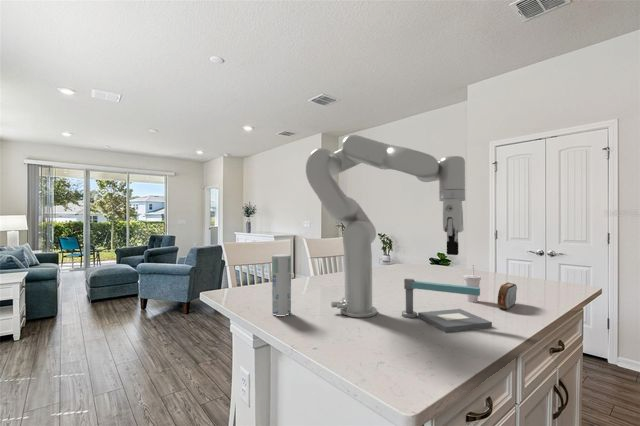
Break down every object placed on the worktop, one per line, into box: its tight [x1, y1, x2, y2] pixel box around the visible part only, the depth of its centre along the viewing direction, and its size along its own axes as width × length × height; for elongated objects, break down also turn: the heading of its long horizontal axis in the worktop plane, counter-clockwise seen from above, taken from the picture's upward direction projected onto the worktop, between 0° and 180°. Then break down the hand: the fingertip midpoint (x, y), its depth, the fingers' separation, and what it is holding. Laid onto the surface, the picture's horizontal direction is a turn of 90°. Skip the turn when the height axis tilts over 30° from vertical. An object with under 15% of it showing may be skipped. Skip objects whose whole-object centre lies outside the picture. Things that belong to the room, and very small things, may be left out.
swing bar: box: [403, 278, 481, 297], centre depth 99 cm, size 23×3×3 cm, turn 59°
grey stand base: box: [401, 289, 493, 333], centre depth 100 cm, size 20×18×9 cm
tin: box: [497, 282, 518, 310], centre depth 114 cm, size 15×3×8 cm, turn 134°
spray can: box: [271, 253, 292, 315], centre depth 107 cm, size 6×6×20 cm
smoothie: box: [462, 264, 482, 303], centre depth 122 cm, size 6×6×14 cm
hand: (452, 254), depth 98 cm, fingers closed
